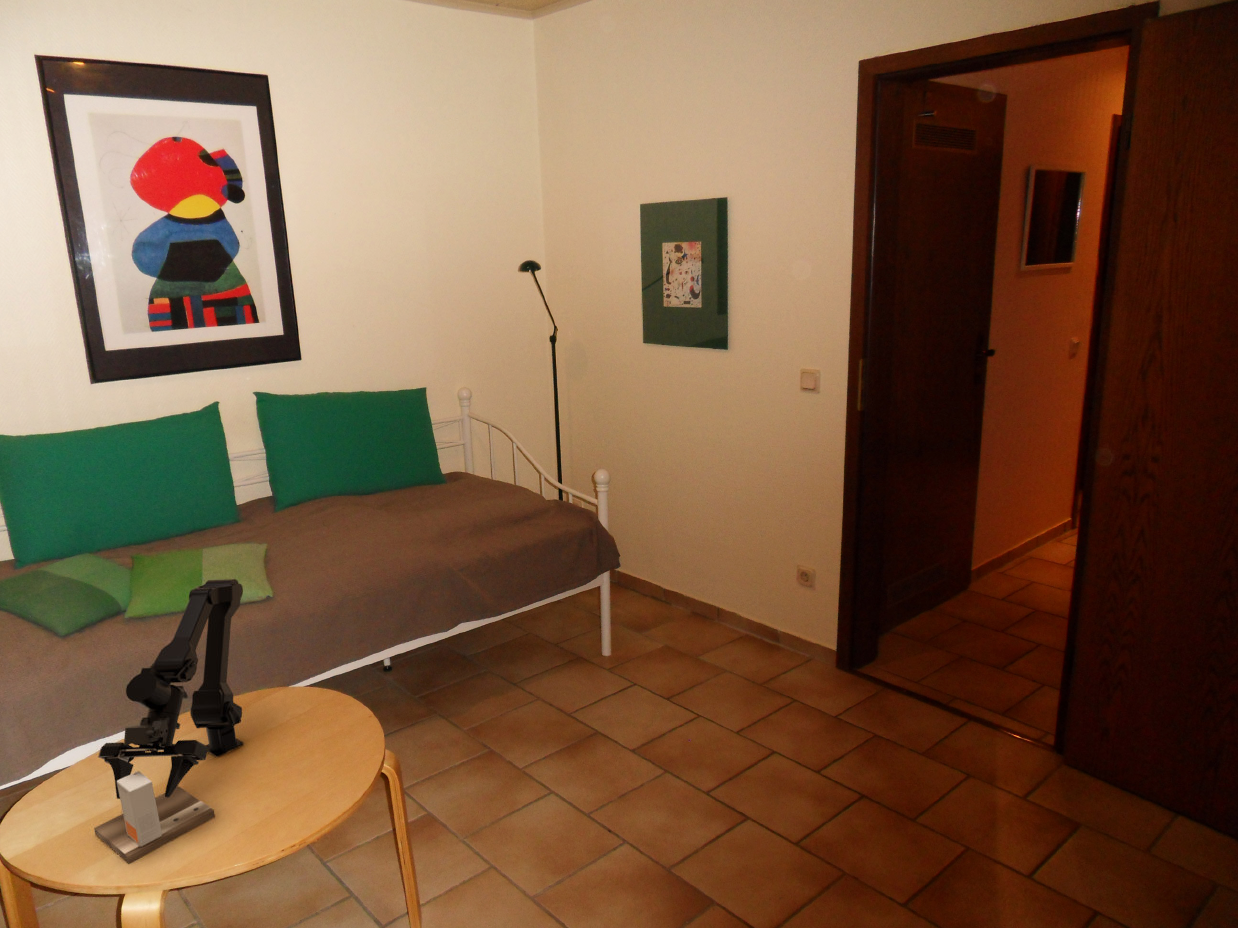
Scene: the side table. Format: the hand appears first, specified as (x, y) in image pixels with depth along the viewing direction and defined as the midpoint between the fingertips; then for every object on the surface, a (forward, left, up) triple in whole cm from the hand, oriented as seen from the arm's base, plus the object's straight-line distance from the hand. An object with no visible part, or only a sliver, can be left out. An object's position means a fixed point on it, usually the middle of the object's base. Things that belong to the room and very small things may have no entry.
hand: (142, 797), depth 164 cm
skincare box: (+1, -1, -7) cm, 8 cm away
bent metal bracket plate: (-3, +2, -9) cm, 10 cm away
